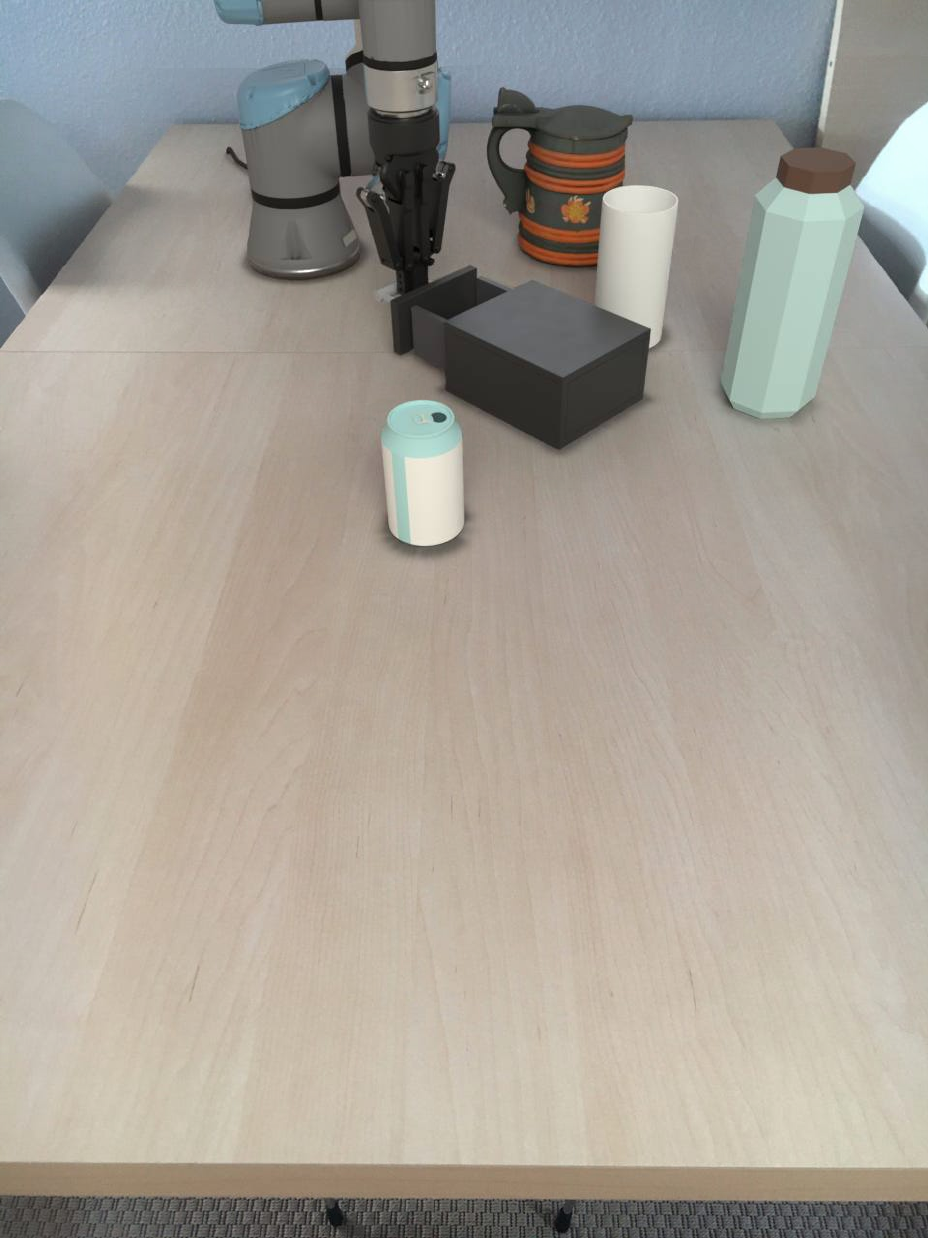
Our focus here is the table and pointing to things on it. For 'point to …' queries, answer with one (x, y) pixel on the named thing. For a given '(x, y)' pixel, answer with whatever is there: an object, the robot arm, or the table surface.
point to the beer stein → (559, 174)
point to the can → (423, 473)
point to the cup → (636, 254)
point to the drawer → (434, 310)
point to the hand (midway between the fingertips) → (414, 316)
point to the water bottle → (791, 282)
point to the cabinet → (546, 361)
